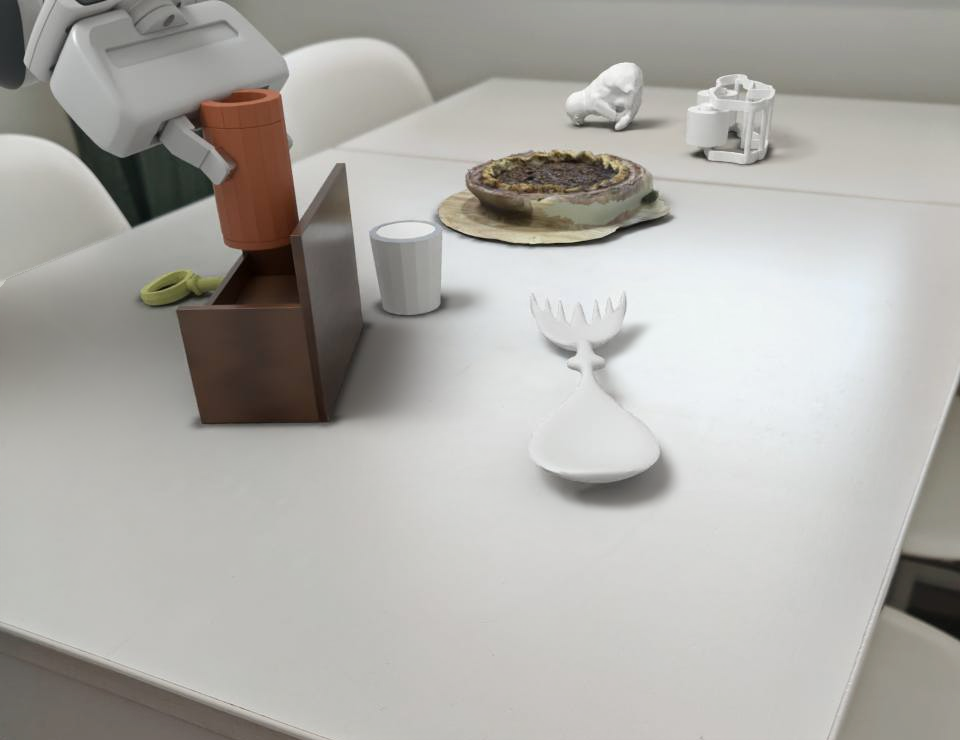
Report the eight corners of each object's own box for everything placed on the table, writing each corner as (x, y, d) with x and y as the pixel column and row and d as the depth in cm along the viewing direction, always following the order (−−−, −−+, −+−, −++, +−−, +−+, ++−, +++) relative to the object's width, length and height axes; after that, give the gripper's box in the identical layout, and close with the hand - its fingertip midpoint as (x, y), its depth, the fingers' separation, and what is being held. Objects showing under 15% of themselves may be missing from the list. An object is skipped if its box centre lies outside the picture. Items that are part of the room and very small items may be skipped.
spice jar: (215, 251, 77) (187, 106, 71) (234, 227, 82) (209, 90, 75) (292, 249, 77) (271, 104, 70) (306, 226, 81) (287, 87, 75)
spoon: (626, 323, 91) (628, 285, 89) (665, 505, 66) (670, 458, 64) (527, 326, 91) (527, 288, 89) (529, 507, 66) (528, 460, 64)
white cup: (362, 304, 97) (353, 230, 93) (418, 287, 101) (412, 214, 96) (404, 323, 93) (397, 246, 89) (461, 304, 96) (457, 228, 92)
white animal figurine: (637, 65, 145) (557, 72, 149) (639, 130, 150) (562, 135, 154) (646, 57, 149) (568, 65, 153) (647, 120, 154) (572, 126, 158)
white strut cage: (697, 129, 150) (702, 73, 146) (773, 131, 147) (780, 74, 143) (679, 162, 135) (684, 101, 131) (763, 165, 133) (771, 103, 128)
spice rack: (201, 423, 78) (159, 238, 69) (257, 326, 94) (229, 165, 85) (327, 421, 78) (301, 235, 69) (363, 324, 93) (345, 162, 84)
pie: (532, 262, 105) (532, 212, 102) (394, 208, 123) (390, 165, 120) (719, 209, 118) (724, 163, 115) (569, 167, 135) (569, 127, 132)
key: (263, 298, 100) (259, 276, 98) (138, 308, 99) (132, 286, 98) (267, 274, 105) (264, 253, 104) (149, 284, 104) (144, 263, 103)
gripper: (191, 24, 82) (309, 160, 85) (5, 69, 68) (155, 231, 71) (225, -42, 78) (348, 104, 81) (34, -9, 63) (192, 168, 66)
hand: (257, 164), depth 75 cm, fingers closed on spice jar, 6 cm apart
